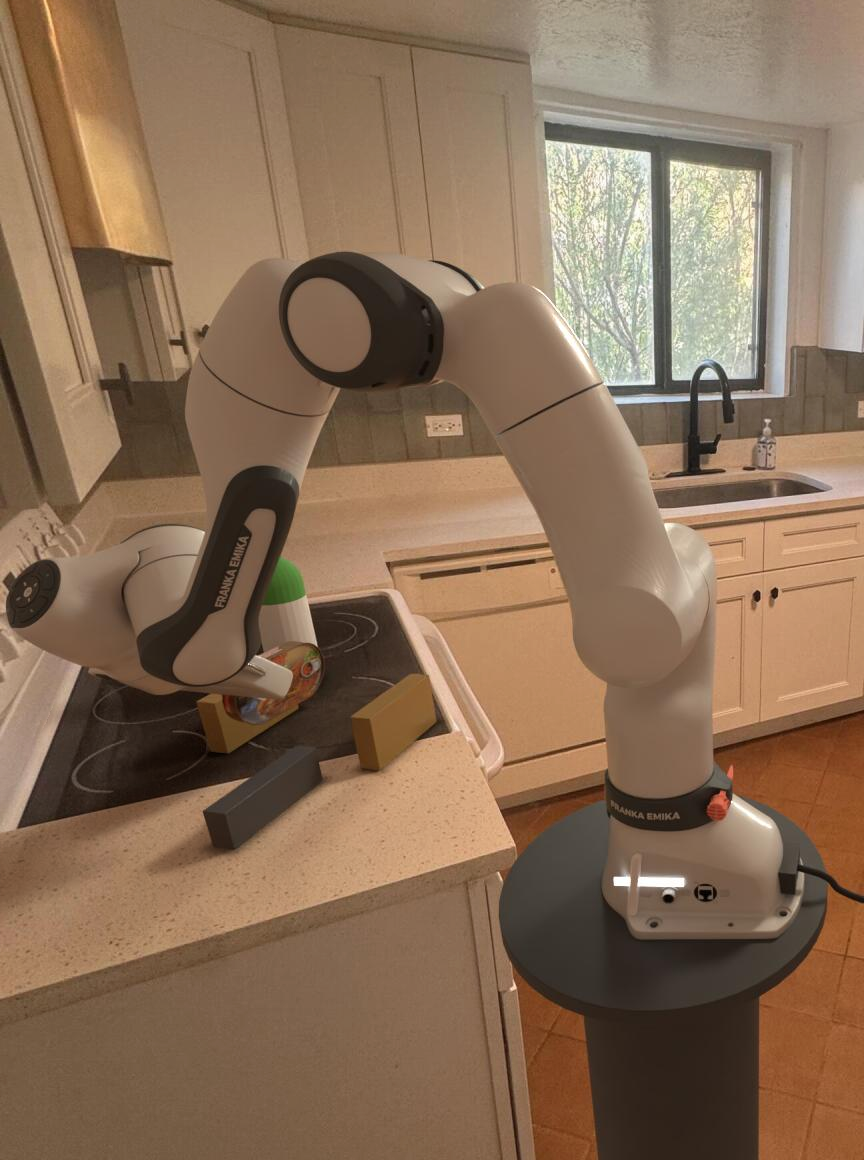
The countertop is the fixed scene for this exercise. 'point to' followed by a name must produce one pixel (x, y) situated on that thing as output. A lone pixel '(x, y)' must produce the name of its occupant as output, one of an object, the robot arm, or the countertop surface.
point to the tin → (306, 680)
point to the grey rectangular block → (262, 797)
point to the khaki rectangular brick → (393, 721)
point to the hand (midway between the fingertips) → (249, 693)
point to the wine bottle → (285, 609)
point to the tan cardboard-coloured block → (228, 725)
